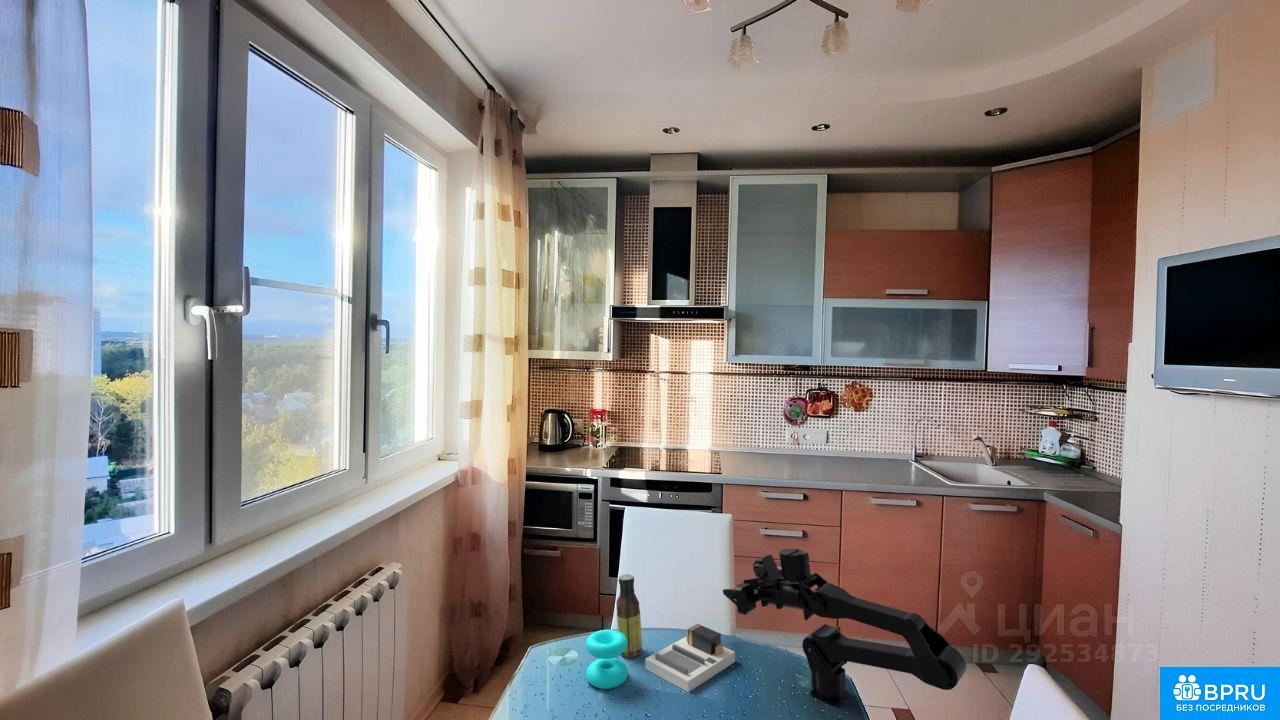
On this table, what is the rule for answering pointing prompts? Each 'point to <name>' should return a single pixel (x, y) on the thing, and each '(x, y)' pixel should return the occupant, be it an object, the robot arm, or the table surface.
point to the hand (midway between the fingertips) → (733, 586)
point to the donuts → (606, 659)
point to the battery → (703, 639)
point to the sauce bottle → (629, 616)
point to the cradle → (688, 664)
